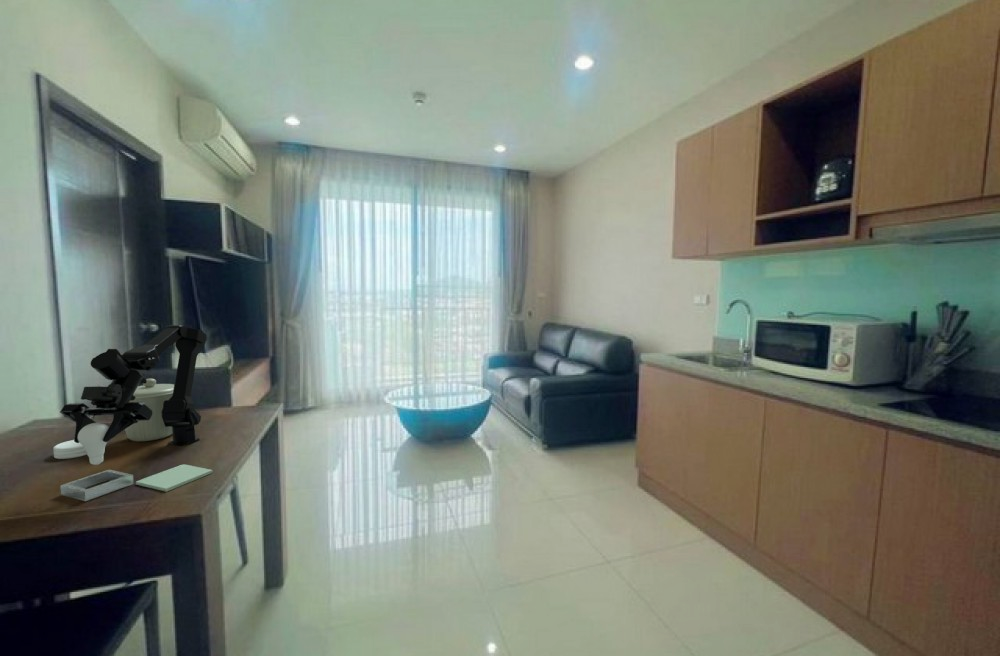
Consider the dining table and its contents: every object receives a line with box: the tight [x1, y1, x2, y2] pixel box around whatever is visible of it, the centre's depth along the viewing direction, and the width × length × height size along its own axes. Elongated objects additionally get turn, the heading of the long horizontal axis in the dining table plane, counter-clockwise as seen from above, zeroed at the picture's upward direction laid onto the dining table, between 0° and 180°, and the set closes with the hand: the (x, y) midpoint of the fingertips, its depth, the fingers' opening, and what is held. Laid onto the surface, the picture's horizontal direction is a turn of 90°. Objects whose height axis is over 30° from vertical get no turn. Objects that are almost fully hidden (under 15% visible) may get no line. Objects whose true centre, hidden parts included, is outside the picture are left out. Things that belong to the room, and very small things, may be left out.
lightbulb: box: [78, 422, 110, 466], centre depth 105 cm, size 6×6×11 cm
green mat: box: [135, 464, 214, 493], centre depth 112 cm, size 12×12×1 cm
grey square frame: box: [59, 469, 134, 502], centre depth 106 cm, size 10×10×2 cm
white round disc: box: [52, 439, 88, 460], centre depth 130 cm, size 10×10×4 cm
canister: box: [124, 378, 175, 442], centre depth 144 cm, size 18×18×21 cm
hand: (90, 441), depth 103 cm, fingers closed on lightbulb, 6 cm apart
